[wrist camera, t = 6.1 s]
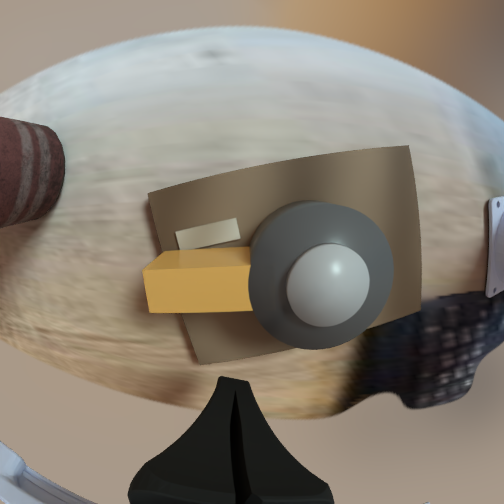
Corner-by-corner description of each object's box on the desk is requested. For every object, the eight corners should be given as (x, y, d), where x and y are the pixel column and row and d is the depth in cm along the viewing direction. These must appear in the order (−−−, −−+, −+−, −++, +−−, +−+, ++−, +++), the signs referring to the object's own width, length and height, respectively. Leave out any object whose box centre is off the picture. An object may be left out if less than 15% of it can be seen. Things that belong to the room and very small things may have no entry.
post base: (399, 147, 13) (410, 145, 12) (412, 304, 16) (422, 311, 14) (153, 192, 14) (146, 193, 12) (202, 355, 16) (199, 367, 15)
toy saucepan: (365, 199, 13) (404, 205, 9) (359, 310, 14) (388, 345, 10) (160, 208, 12) (130, 216, 9) (175, 322, 14) (156, 361, 10)
